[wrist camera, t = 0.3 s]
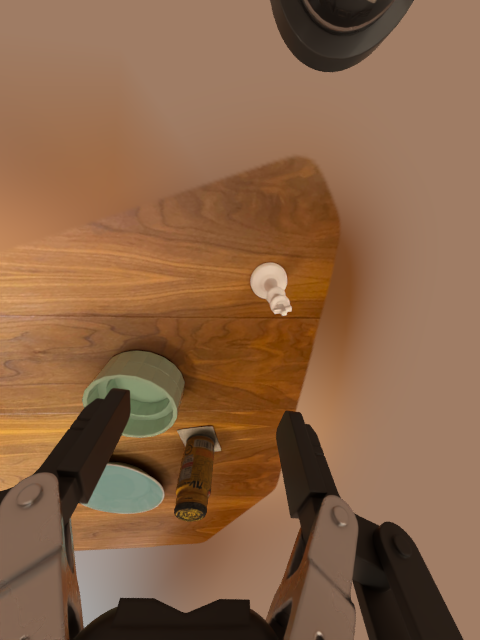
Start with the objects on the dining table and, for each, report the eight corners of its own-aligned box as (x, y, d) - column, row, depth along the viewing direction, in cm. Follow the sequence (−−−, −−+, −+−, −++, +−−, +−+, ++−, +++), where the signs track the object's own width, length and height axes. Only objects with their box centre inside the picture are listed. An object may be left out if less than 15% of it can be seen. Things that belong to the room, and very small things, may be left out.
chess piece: (288, 294, 29) (311, 331, 21) (253, 300, 30) (261, 339, 21) (285, 259, 27) (310, 283, 18) (247, 266, 27) (254, 293, 19)
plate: (94, 504, 56) (88, 518, 53) (50, 456, 45) (39, 470, 43) (177, 497, 55) (174, 511, 53) (151, 446, 45) (146, 460, 42)
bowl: (91, 354, 33) (64, 382, 28) (172, 343, 33) (160, 369, 27) (124, 410, 39) (107, 441, 34) (193, 401, 39) (187, 432, 34)
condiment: (188, 453, 46) (175, 526, 36) (177, 429, 42) (158, 503, 32) (221, 449, 46) (217, 521, 35) (212, 424, 42) (205, 497, 31)
